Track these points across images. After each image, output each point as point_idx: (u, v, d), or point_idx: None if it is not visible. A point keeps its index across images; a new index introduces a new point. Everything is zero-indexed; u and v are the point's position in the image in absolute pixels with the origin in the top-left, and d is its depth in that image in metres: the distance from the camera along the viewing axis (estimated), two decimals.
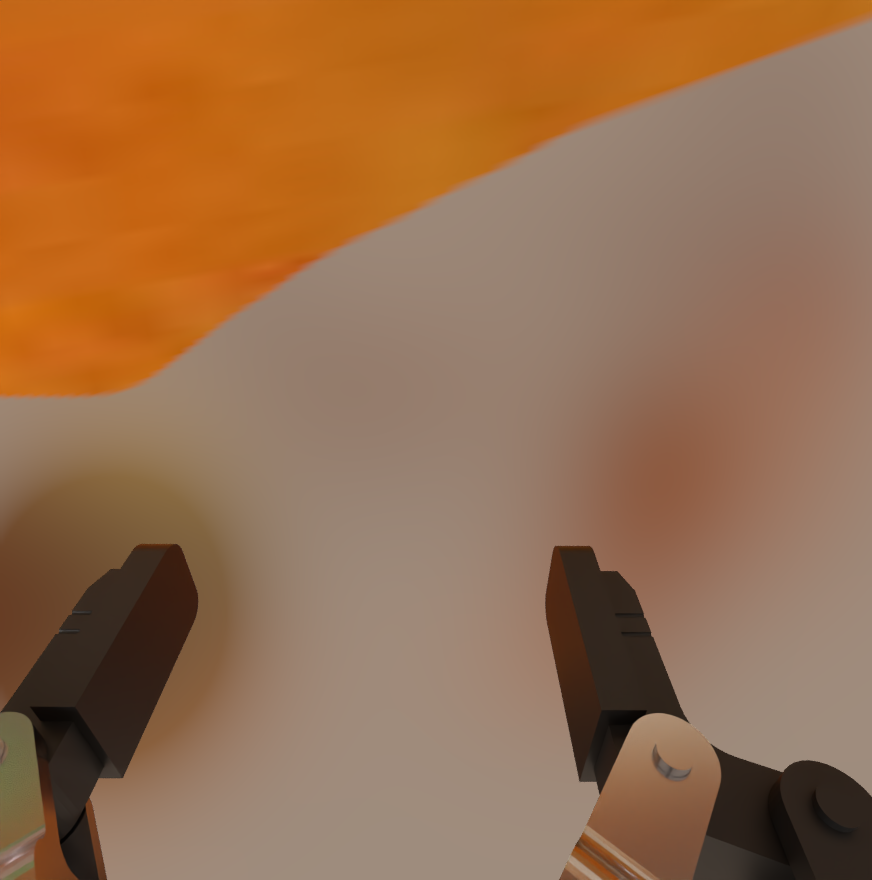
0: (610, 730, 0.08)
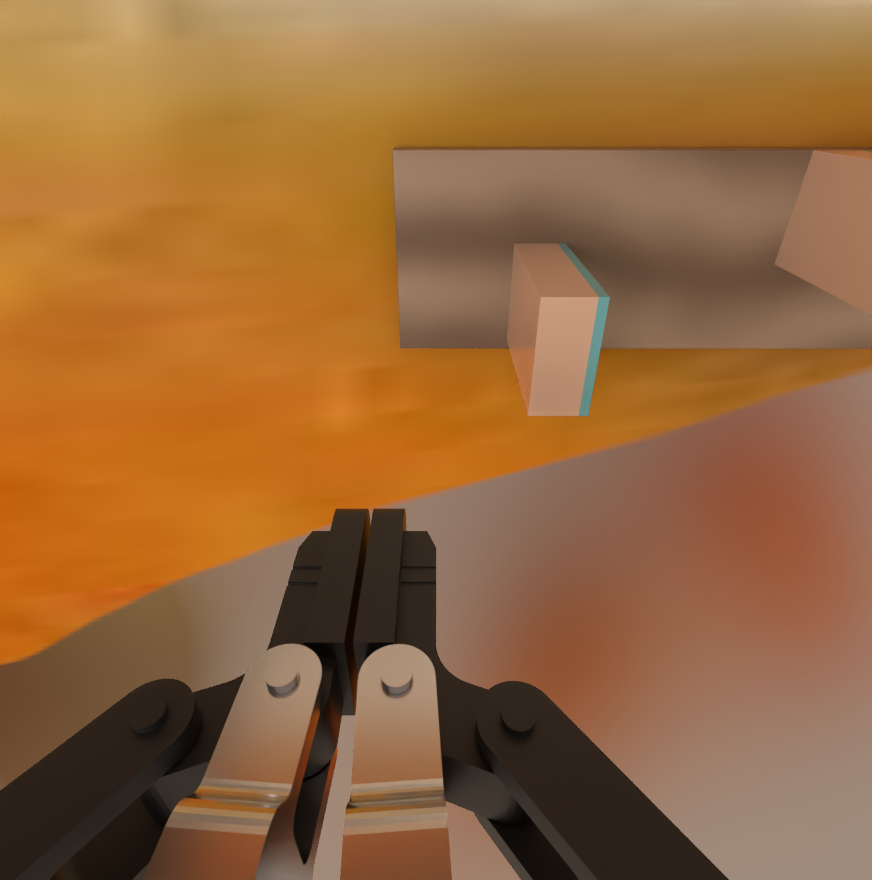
0: None
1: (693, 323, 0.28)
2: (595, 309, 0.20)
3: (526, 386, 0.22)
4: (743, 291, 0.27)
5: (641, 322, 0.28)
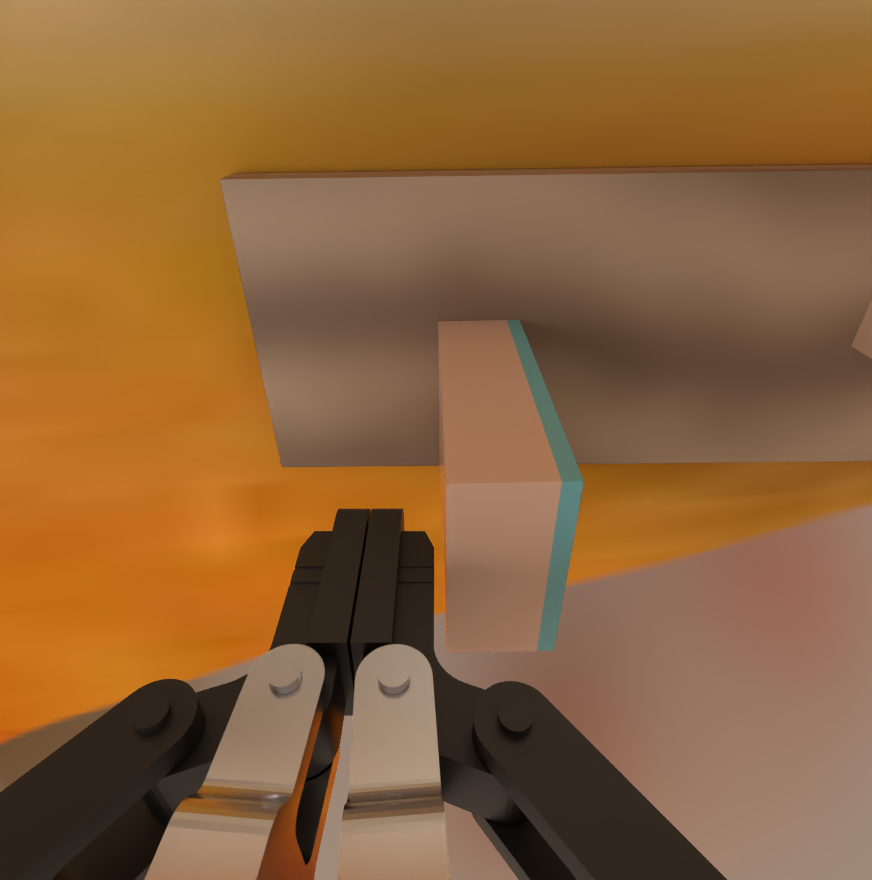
0: None
1: (722, 429, 0.19)
2: (556, 501, 0.10)
3: None
4: (799, 385, 0.18)
5: (641, 429, 0.19)
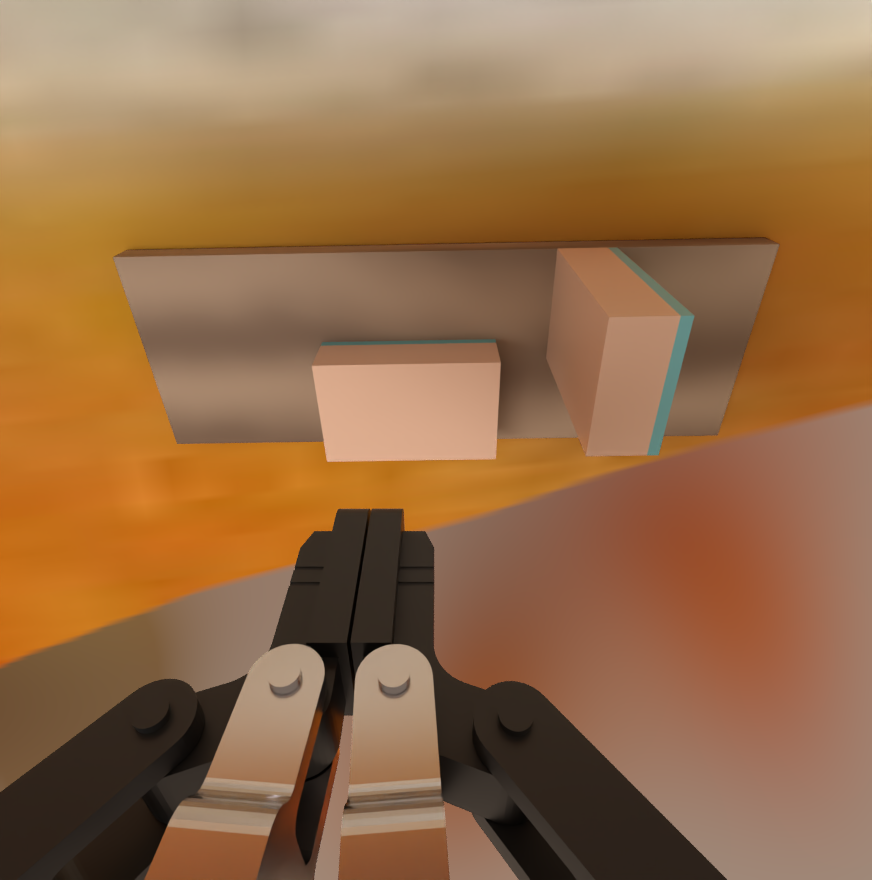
0: None
1: None
2: None
3: (475, 444, 0.25)
4: (520, 384, 0.26)
5: None
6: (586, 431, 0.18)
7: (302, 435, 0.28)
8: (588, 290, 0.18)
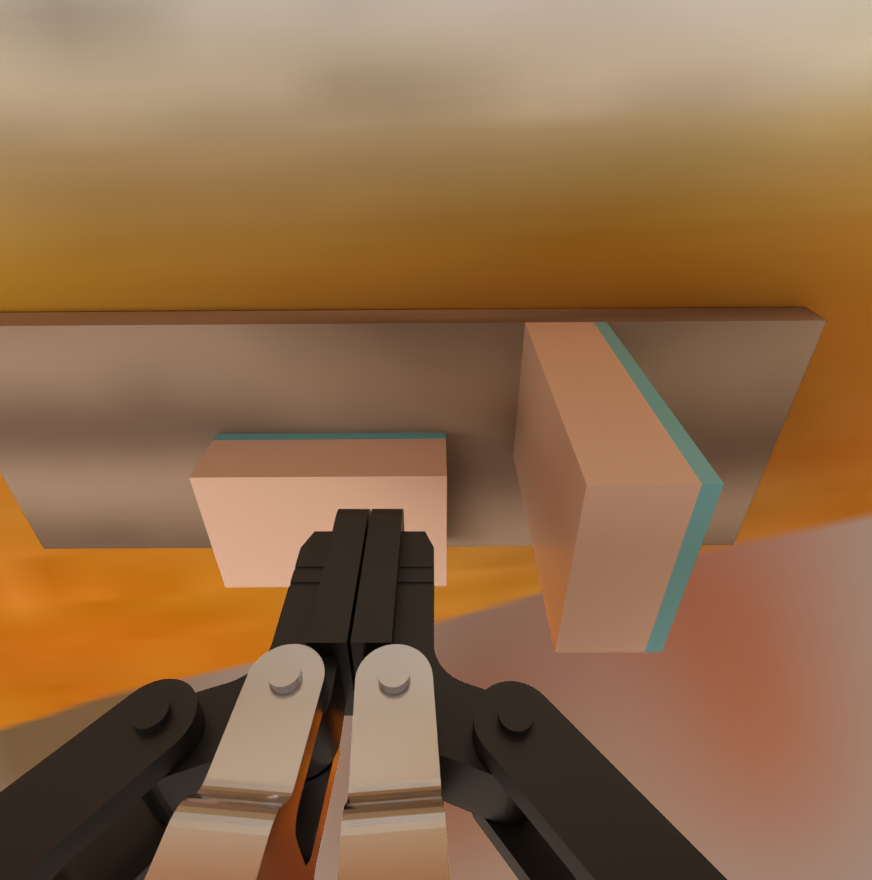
0: None
1: None
2: None
3: None
4: (480, 485, 0.20)
5: None
6: (555, 617, 0.12)
7: (203, 540, 0.21)
8: (560, 414, 0.12)
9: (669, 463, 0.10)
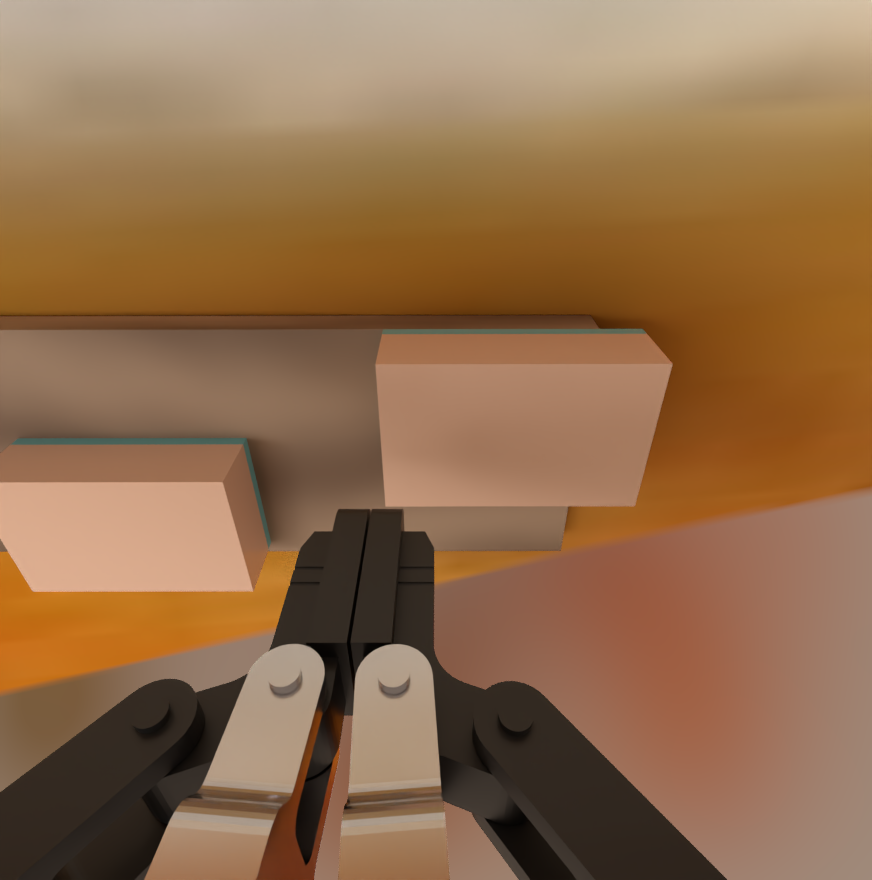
0: None
1: None
2: (245, 456, 0.19)
3: (221, 574, 0.19)
4: (294, 491, 0.20)
5: None
6: (628, 487, 0.17)
7: None
8: (580, 364, 0.14)
9: (629, 338, 0.16)
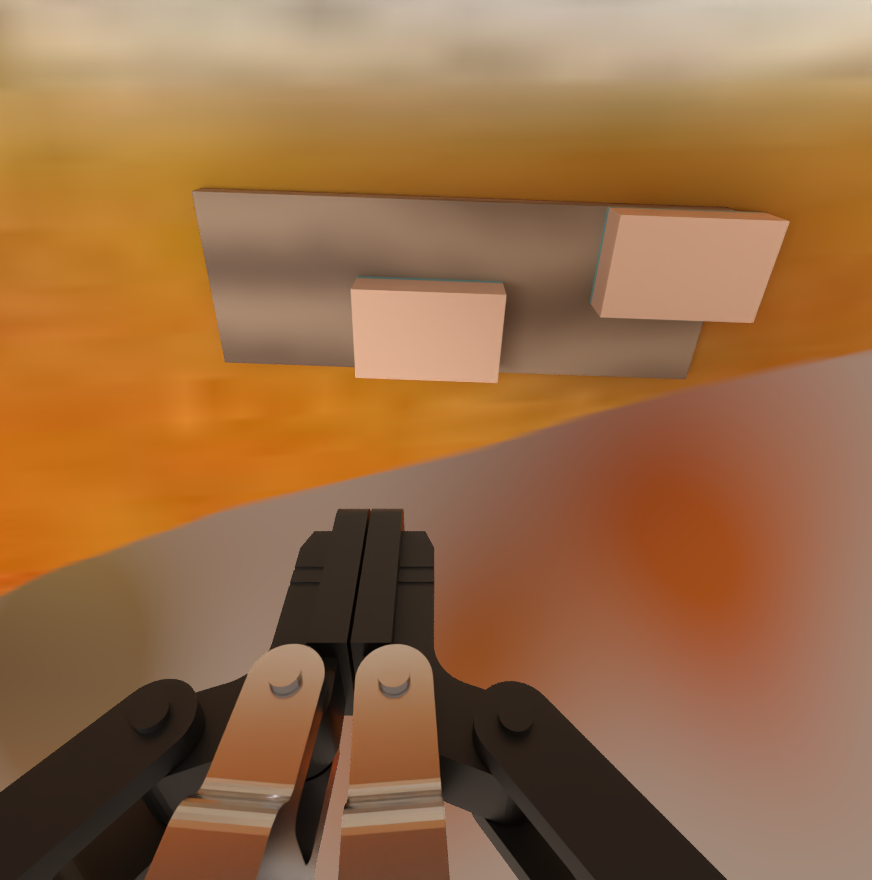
0: None
1: None
2: None
3: (481, 368, 0.30)
4: (521, 323, 0.31)
5: None
6: (751, 308, 0.27)
7: (333, 360, 0.32)
8: (737, 219, 0.25)
9: (758, 214, 0.27)
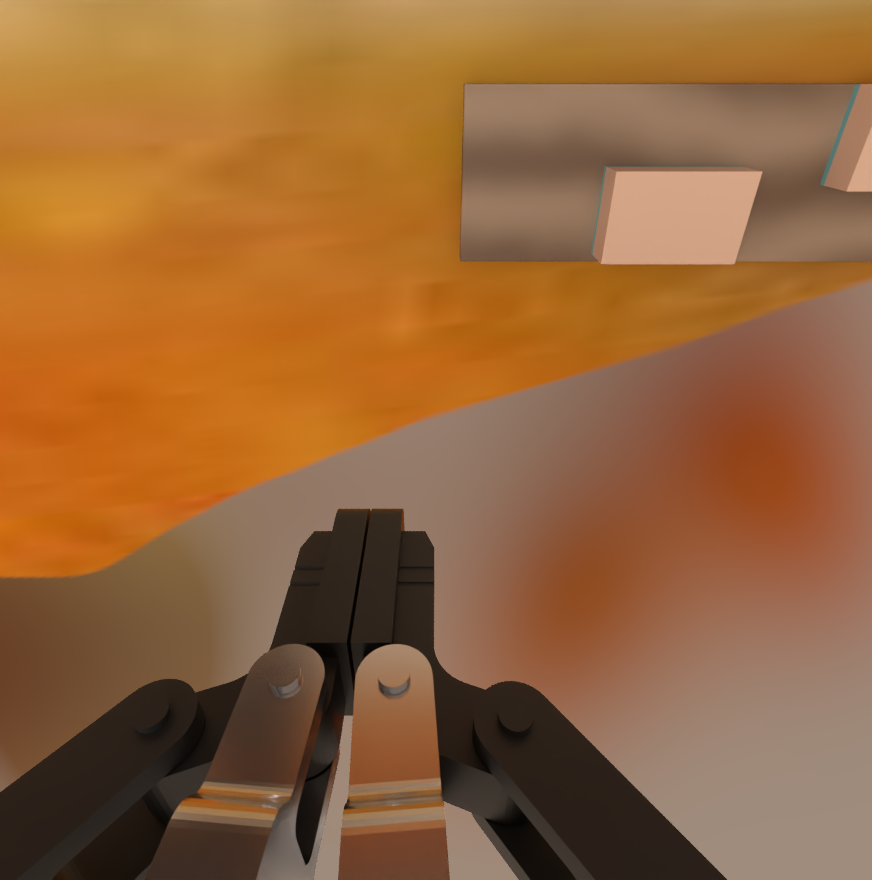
0: None
1: None
2: None
3: (722, 249, 0.32)
4: None
5: None
6: None
7: (563, 255, 0.34)
8: None
9: None
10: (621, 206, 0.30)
